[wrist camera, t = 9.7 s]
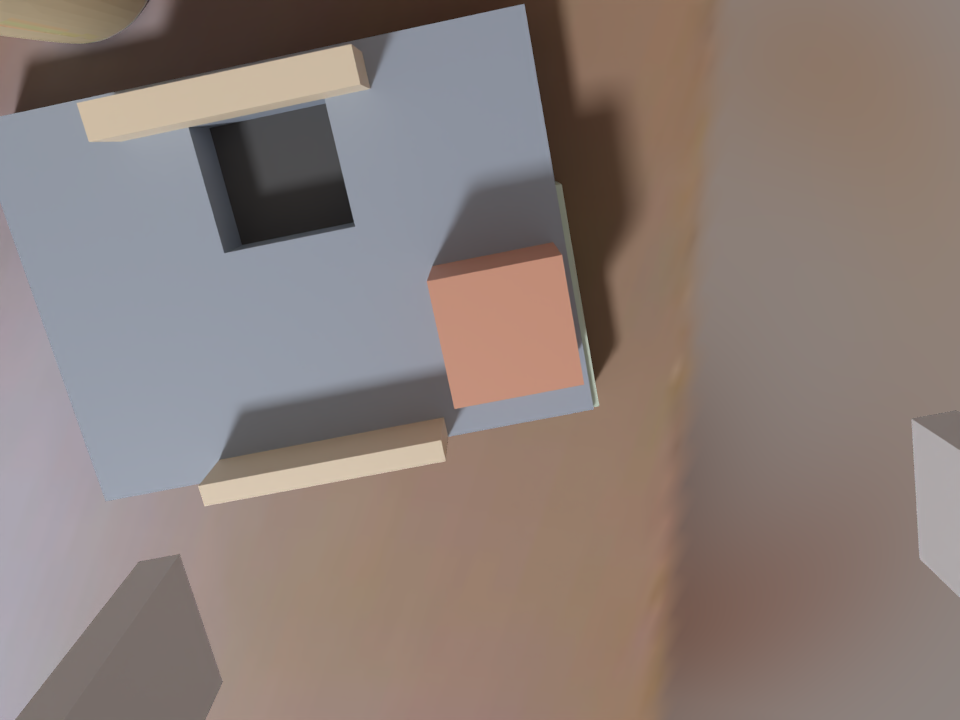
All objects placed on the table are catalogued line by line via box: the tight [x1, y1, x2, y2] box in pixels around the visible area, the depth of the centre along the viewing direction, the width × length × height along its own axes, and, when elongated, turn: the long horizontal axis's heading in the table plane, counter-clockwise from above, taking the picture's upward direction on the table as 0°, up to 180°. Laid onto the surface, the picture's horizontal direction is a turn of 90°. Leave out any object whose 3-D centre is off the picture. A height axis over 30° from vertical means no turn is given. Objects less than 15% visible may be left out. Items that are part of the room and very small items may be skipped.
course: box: [0, 4, 599, 506], centre depth 36 cm, size 18×24×6 cm
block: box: [427, 242, 584, 409], centre depth 35 cm, size 6×6×4 cm
